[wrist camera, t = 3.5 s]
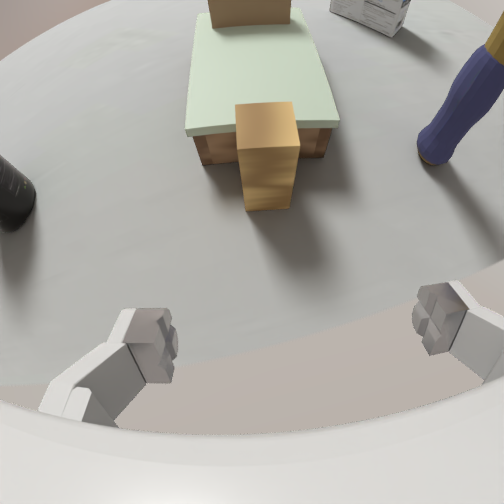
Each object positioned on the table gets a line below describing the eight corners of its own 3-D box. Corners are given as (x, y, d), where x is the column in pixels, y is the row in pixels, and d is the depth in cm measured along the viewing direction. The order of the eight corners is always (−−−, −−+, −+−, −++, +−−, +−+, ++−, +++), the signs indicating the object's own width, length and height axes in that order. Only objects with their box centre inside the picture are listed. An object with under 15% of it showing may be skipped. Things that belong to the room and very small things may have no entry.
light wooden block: (284, 171, 26) (291, 101, 18) (289, 208, 25) (300, 145, 17) (243, 174, 26) (234, 104, 18) (245, 211, 25) (236, 149, 17)
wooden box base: (294, 44, 31) (296, 17, 27) (323, 157, 26) (332, 127, 22) (206, 50, 32) (201, 22, 27) (202, 165, 27) (192, 135, 22)
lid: (299, 14, 27) (301, -20, 22) (337, 127, 22) (351, 83, 17) (198, 20, 27) (192, -14, 22) (187, 137, 22) (172, 93, 17)
